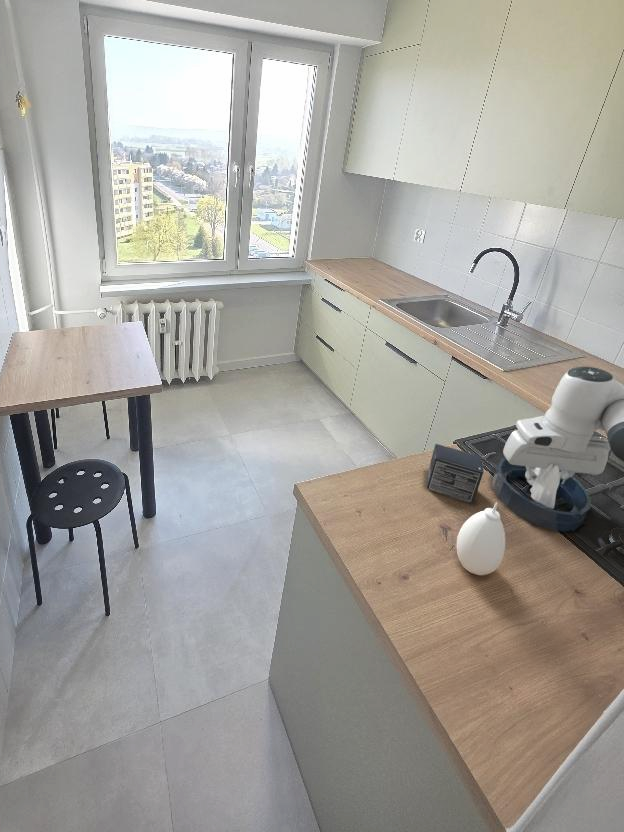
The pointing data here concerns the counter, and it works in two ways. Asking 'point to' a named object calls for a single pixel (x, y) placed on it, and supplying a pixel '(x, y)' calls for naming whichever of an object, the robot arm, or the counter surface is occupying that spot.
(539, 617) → the counter surface
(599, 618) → the counter surface
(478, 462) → the small box
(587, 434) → the robot arm
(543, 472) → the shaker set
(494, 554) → the white bulb air blower
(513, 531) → the counter surface
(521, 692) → the counter surface
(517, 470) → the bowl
